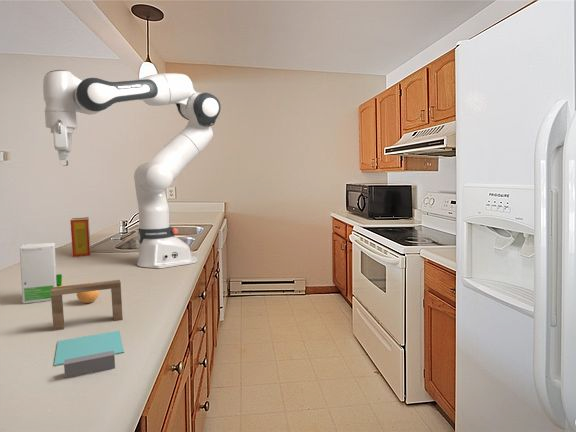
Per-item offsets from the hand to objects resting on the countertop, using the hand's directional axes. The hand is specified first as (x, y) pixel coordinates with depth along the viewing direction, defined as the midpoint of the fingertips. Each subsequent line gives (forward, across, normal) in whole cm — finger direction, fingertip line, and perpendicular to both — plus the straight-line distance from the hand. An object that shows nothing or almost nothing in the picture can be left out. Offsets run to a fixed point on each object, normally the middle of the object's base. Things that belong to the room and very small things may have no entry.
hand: (64, 165), depth 132 cm
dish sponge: (+38, -7, +6) cm, 40 cm away
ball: (+35, -31, -5) cm, 47 cm away
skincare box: (+38, -21, +7) cm, 44 cm away
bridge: (+38, -48, -5) cm, 61 cm away
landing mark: (+38, -62, -6) cm, 73 cm away
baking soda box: (+38, +44, -2) cm, 58 cm away
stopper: (+38, -74, -6) cm, 83 cm away
